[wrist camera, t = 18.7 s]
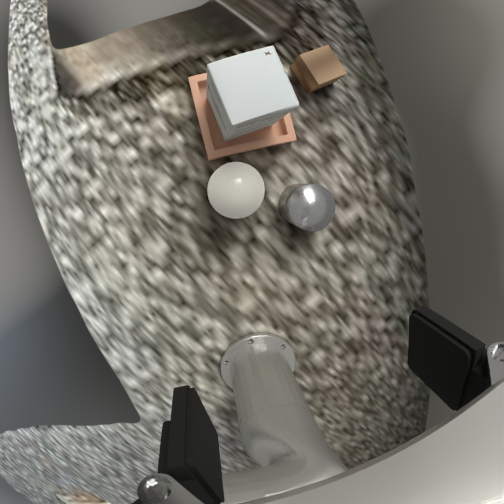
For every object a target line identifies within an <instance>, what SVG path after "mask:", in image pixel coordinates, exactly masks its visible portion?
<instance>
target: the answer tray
mask: <svg viewBox="0 0 504 504" xmlns="http://www.w3.org/2000/svg"><path fill="white" fill-rule="evenodd" d="M188 79H189V84H190V88H191V92H192V97H193V101H194V105H195V109H196V113H197V117H198V121H199V125H200V129H201V133H202V137H203V141H204V145H205V149H206V153H207V157H208V161H211V160H215V159H219V158H223V157H227V156H231V155H235V154H239V153H244V152H248V151H252V150H257V149H261V148H266V147H271V146H276V145H280V144H285V143H291V142H293V141H296V140H297V139H296V135H295V131H294V127H293V124H292V120H291V116H290V112H289V113H288V114H287V115H286V116H284V117H283V118H282V119H280V120H279V121H278V122H276V123H275V124H273V125H272V126H269V127H266V128H263V129H260V130H257V131H254V132H251V133H248V134H246V135H243V136H240V137H237V138H235V139H232V140H229V141H227V142H224V139H223V136H222V133H221V131H220V128H219V126H218V123H217V121H216V118H215V116H214V113H213V111H212V108H211V106H210V104H209V102H208V100H207V97H206V90H207V73H204V74H200V75H195V76H191V77H188Z"/></svg>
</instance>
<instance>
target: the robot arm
mask: <svg viewBox="0 0 504 504" xmlns="http://www.w3.org/2000/svg"><path fill="white" fill-rule="evenodd" d="M250 339H251V340H250ZM295 364H296V360H295V354H294V352H293V350H292V348H291V346H290V345H289V344H288V342H287V341H285V340H284V339H283V338H281V337H279V336H277V335H273V334H269V333H254V334H250V335H246V336H244V337H242V338H240V339H238V340H236V341H235V342H233V343H232V344H231V345H230V346H229V347H228V348H227V349H226V351H225V352H224V354H223V356H222V359H221V363H220V365H221V375H222V377H223V380H224V381H225V383H226V384H227V385H228V386H229V387H230V388H231V389H233V392H234V398H235V404H236V410H237V416H238V422H239V427H240V433H241V439H242V444H243V447H244V449H245V451H246V453H247V454H248V455H249V457H250V458H251V459H252V460H253V461H254V462H255V463H256V464H258V465H259V466H260V467H259V468H257V469H252V470H246V471H240V472H233V473H226V474H222V472H221V463H220V453H219V443H218V435H217V432H216V429H215V427H214V426H213V424H212V422H211V420H210V418H209V416H208V414H207V412H206V410H205V408H204V406H203V404H202V402H201V400H200V398H199V396H198V394H197V392H196V390H195V388H190V387H189V386H188V385H187V386H182V387H177V388H174V392H173V402H172V411H171V421H166V422H164V423H163V427H162V435H161V444H160V454H159V464H158V473H155V474H151V475H149V476H147V477H145V478H144V479H143V480H142V481H141V482H140V484H139V485H138V489H137V494H138V497H139V499H138V500H136V501H135V502H134V503H132V504H504V342H497V343H494V344H492V345H491V346H490V347H489V348H488V350H487V349H485V344H484V343H482V342H481V341H479V340H478V339H476V338H475V337H473V336H472V335H470V334H469V333H467V332H466V331H464V330H463V329H461V328H459V327H458V326H456V325H455V324H453V323H452V322H450V321H448V320H447V319H445V318H444V317H442V316H440V315H439V314H437V313H435V312H434V311H432V310H431V309H429V308H428V307H426V306H421V307H419V308H417V309H415V310H413V311H412V313H411V315H410V317H409V348H408V366H409V368H410V369H411V370H412V371H413V372H414V373H415V374H416V375H417V376H418V377H419V378H420V379H421V380H422V381H423V382H424V383H425V384H426V385H427V386H428V387H429V388H430V389H431V390H432V391H434V392H435V393H436V394H437V395H438V396H439V397H440V398H441V399H442V400H443V401H444V402H445V403H446V404H447V405H448V406H449V407H450V408H451V409H452V410H456V412H455V413H454V414H452V415H451V416H449V417H448V418H446V419H445V420H443V421H442V422H440V423H438V424H437V425H435V426H434V427H432V428H431V429H429V430H427V431H425V432H424V433H422V434H420V435H419V436H417V437H415V438H414V439H412V440H410V441H408V442H406V443H405V444H403V445H401V446H399V447H397V448H395V449H393V450H391V451H389V452H387V453H385V454H383V455H381V456H379V457H377V458H375V459H373V460H371V461H368V462H366V463H364V464H362V465H359V466H357V467H355V468H352V469H350V470H348V469H347V468H346V467H345V465H344V464H343V463H342V462H341V461H340V459H339V458H338V457H337V456H336V455H335V453H334V452H333V451H332V449H331V448H330V446H329V445H328V443H327V442H326V440H325V438H324V437H323V435H322V433H321V431H320V429H319V427H318V425H317V423H316V421H315V419H314V417H313V415H312V413H311V411H310V408H309V406H308V404H307V402H306V400H305V398H304V396H303V393H302V391H301V389H300V387H299V385H298V383H297V381H296V378H295V376H294V374H293V371H294V369H295Z"/></svg>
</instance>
